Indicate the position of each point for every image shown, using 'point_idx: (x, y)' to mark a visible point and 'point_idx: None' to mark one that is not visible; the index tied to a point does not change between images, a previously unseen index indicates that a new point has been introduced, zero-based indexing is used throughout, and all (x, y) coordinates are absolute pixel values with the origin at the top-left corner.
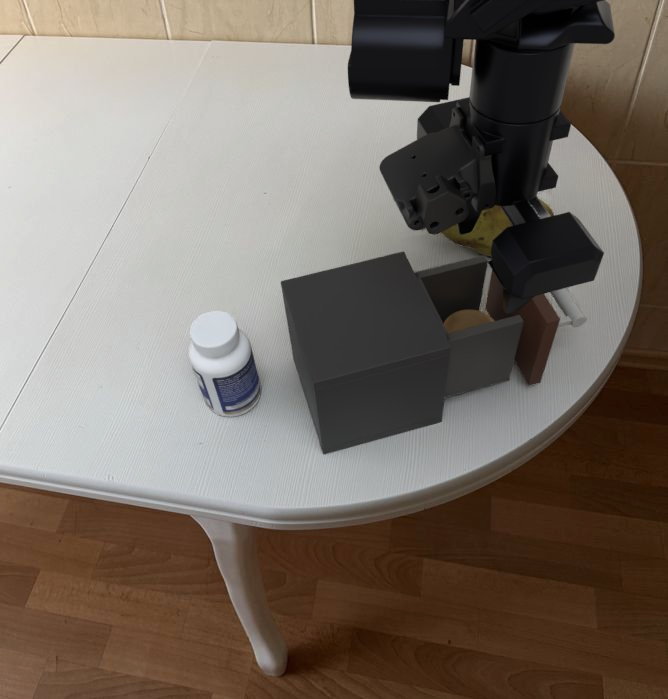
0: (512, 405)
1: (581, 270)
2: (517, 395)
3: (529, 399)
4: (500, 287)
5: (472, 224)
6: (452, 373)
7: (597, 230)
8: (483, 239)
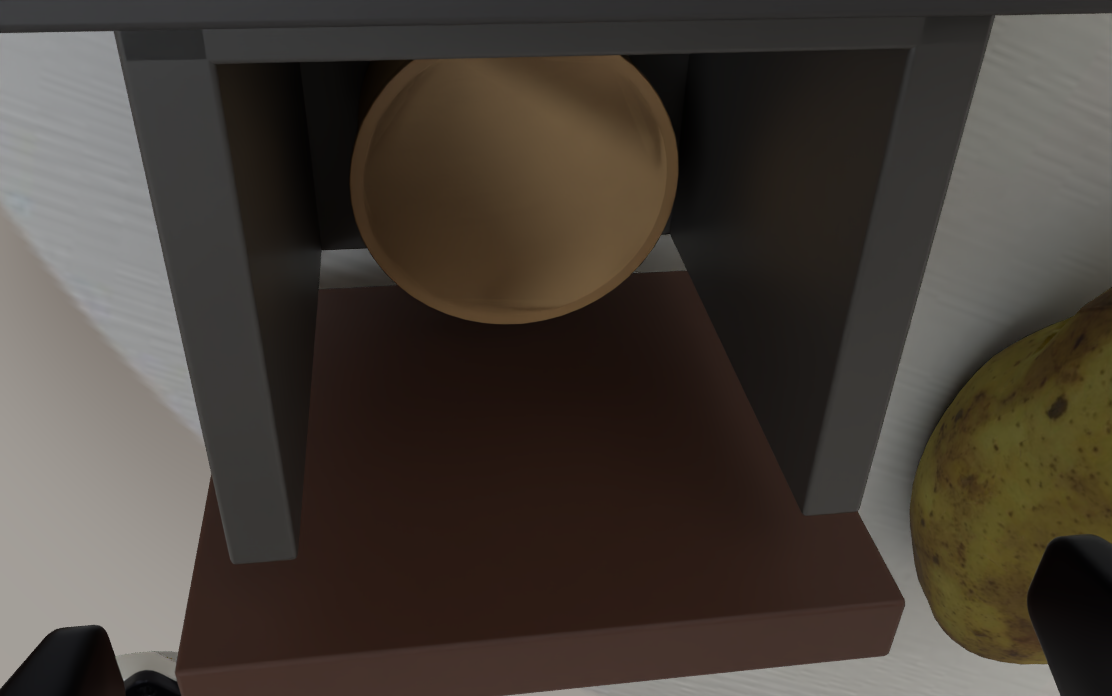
0: None
1: None
2: None
3: None
4: (693, 433)
5: (1069, 675)
6: None
7: (874, 680)
8: (1048, 414)
